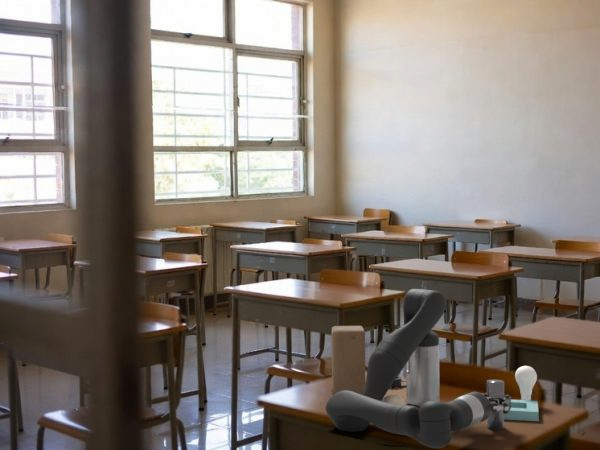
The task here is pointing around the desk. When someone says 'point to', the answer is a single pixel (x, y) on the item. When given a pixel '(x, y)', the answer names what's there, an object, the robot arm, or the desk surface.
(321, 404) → the desk surface
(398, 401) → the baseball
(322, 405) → the desk surface
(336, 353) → the wooden block
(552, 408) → the desk surface
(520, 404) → the frame
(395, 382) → the black ring with tabs
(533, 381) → the lightbulb
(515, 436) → the desk surface
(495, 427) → the brushed steel cylinder
